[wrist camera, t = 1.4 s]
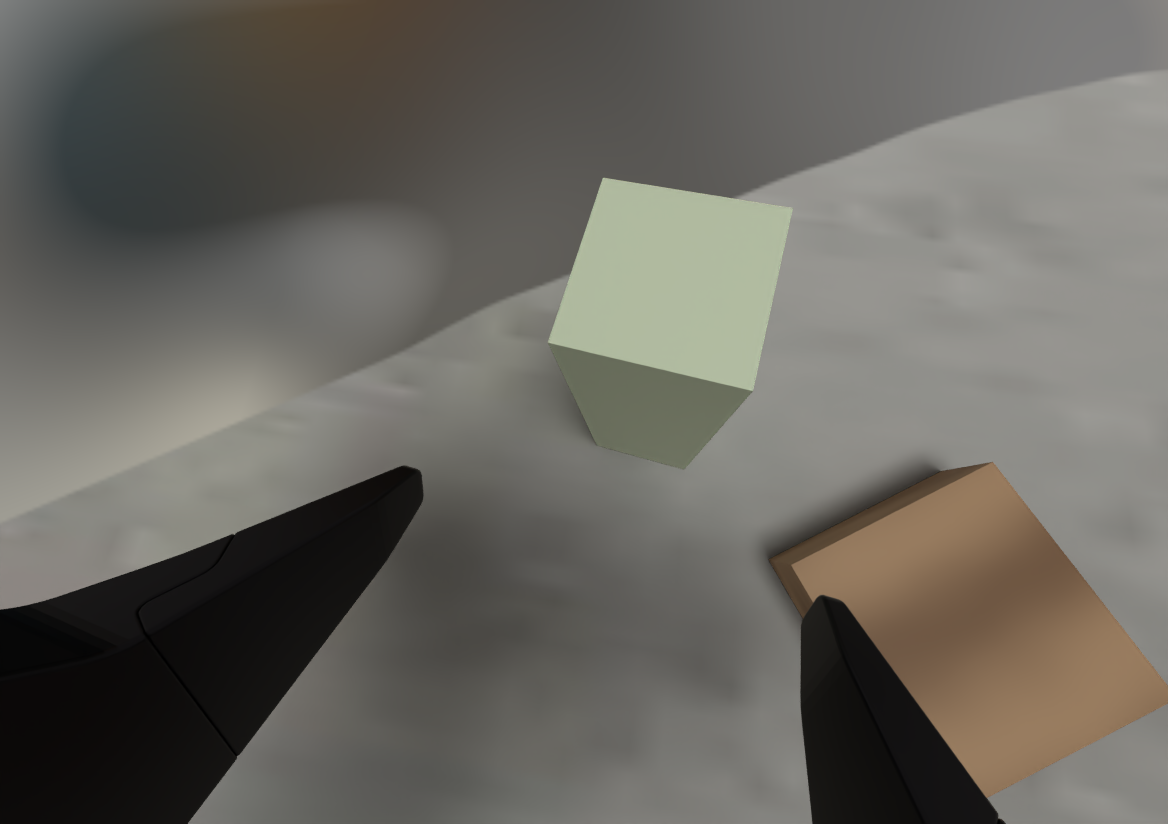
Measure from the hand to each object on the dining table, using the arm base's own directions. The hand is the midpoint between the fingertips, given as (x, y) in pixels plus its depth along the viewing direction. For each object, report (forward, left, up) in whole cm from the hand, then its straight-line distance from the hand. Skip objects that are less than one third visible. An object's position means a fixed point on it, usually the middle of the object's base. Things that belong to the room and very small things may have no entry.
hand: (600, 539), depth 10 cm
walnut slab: (-9, -10, -12) cm, 18 cm away
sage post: (+4, -4, -12) cm, 13 cm away
